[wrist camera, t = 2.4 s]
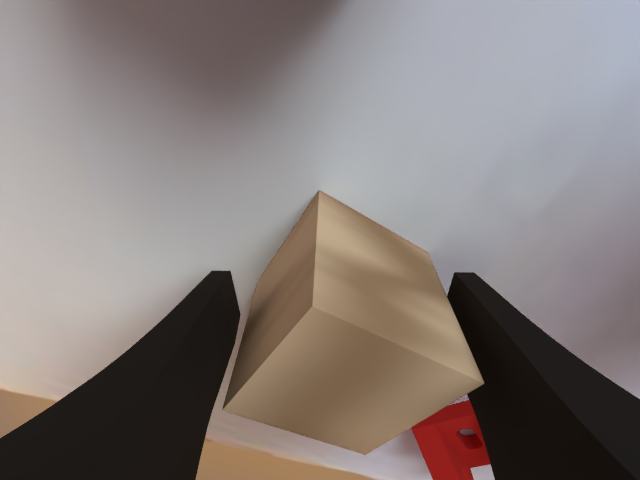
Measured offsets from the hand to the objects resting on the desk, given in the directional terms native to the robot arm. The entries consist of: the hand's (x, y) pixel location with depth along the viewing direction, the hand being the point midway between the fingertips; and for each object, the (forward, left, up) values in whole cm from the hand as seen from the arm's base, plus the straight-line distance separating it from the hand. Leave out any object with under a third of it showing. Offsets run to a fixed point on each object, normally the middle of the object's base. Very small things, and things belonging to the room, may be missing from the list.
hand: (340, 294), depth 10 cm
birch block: (0, 0, -2) cm, 2 cm away
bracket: (-13, +6, -2) cm, 15 cm away
